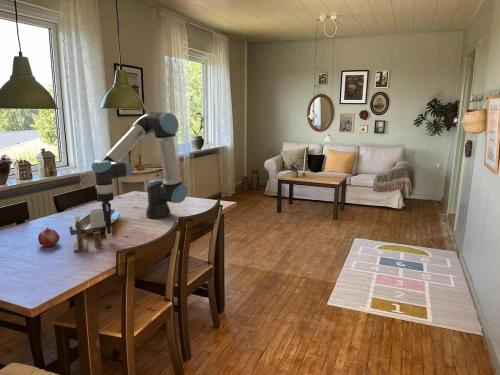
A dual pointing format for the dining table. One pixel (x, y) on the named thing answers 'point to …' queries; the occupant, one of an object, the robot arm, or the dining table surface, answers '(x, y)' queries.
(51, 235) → the fruit
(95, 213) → the mug
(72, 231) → the hook rod
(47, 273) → the dining table surface
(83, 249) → the wooden square frame
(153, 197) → the robot arm
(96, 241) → the saddle block
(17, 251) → the dining table surface
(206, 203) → the dining table surface
